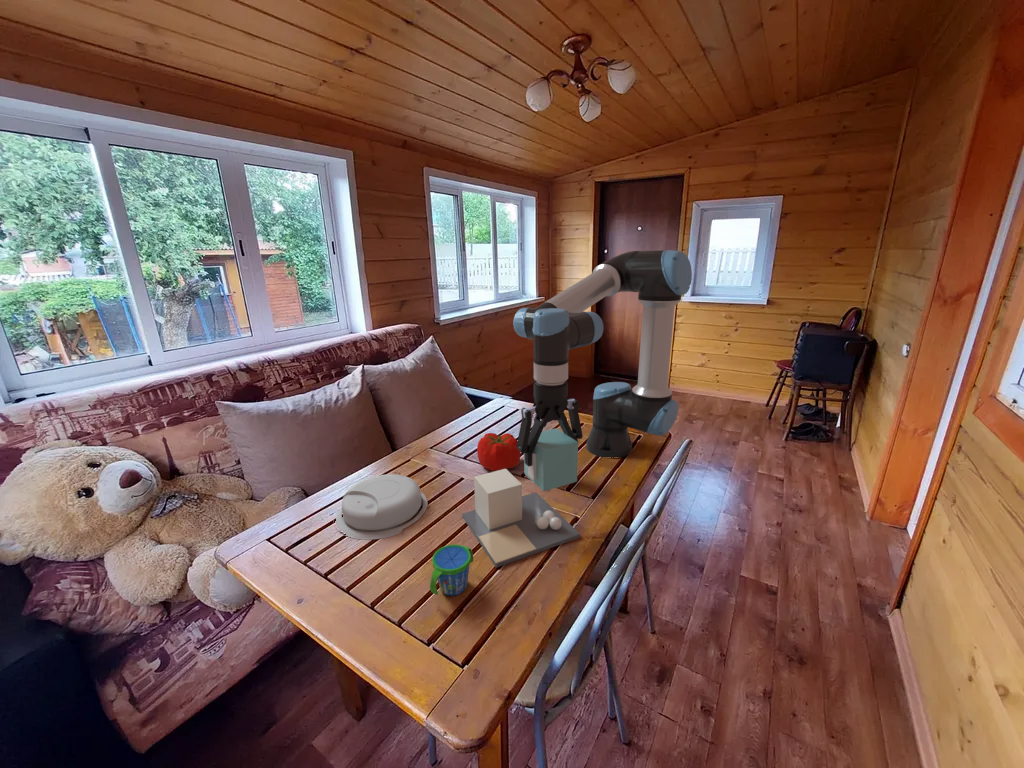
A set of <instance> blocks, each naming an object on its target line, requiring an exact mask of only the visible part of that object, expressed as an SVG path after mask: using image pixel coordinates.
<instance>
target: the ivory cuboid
mask: <svg viewBox="0 0 1024 768" xmlns="http://www.w3.org/2000/svg"><path fill="white" fill-rule="evenodd" d="M473 484H474V506H475V509H474V510H475V511H476V512H477V514H478V515H479V516H480V518H481V519H482V520H483V522H484V523H485V525H486V526H487V527H488V529H489V530H491V529H494V528H497V527H500V526H503V525H506V524H510V523H513V522H516V521H519V520H522V496H523V484H522V483H521V481H519V480H518V479H517V478H516V477H515V476H514V475H513V474H512V473H511V472H510V471H509V469H502V470H498V471H490V472H488V473H483V474H479V475H476V476H475V475H474V476H473Z"/></svg>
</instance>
